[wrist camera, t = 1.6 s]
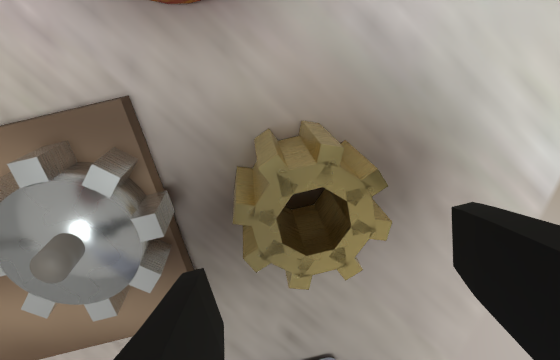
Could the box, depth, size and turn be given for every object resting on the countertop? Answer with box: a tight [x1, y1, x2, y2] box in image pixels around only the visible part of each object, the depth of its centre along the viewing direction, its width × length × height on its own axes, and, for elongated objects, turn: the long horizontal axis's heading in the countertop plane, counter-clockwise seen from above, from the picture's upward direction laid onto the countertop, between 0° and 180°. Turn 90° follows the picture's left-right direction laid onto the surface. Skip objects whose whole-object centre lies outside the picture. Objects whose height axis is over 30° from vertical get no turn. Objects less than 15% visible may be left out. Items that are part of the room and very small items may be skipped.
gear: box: [0, 141, 175, 322], centre depth 14 cm, size 7×7×2 cm
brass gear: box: [233, 121, 392, 290], centre depth 14 cm, size 6×6×4 cm
